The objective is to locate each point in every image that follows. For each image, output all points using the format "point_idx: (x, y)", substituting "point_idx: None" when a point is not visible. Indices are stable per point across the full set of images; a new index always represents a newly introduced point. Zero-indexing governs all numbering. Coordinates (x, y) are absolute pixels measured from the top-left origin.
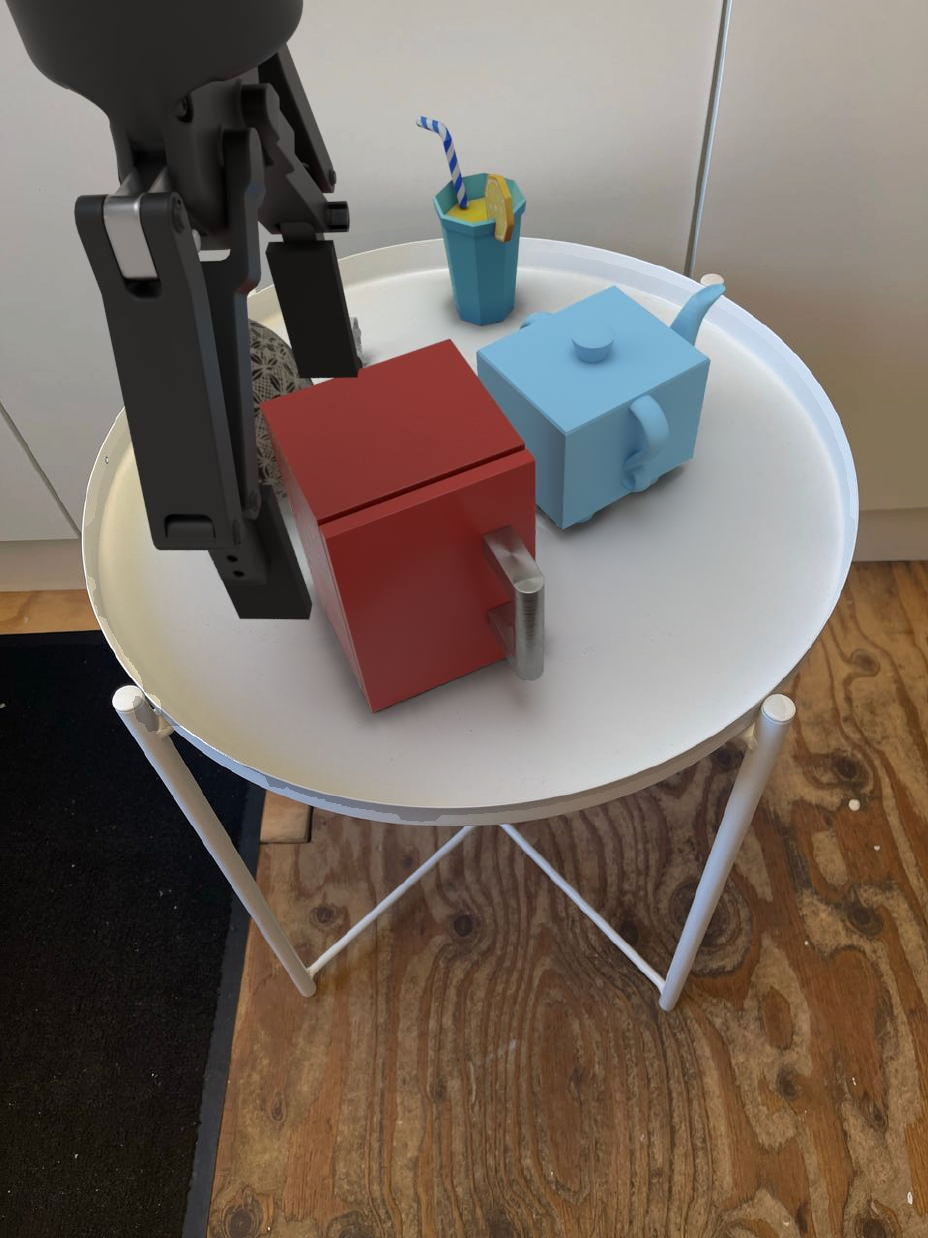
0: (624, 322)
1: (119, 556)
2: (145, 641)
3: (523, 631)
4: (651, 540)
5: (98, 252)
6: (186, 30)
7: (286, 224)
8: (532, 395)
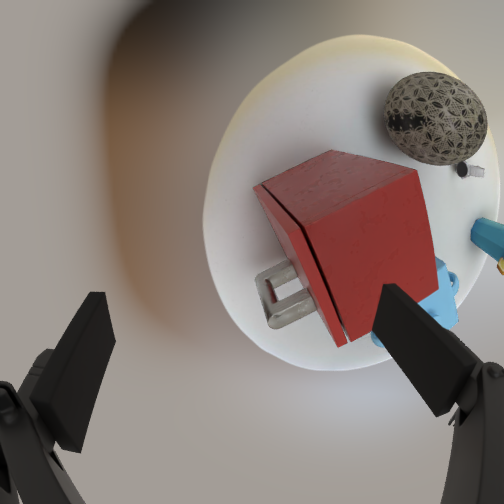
0: None
1: (357, 41)
2: (301, 58)
3: (262, 300)
4: None
5: None
6: None
7: (477, 394)
8: None
